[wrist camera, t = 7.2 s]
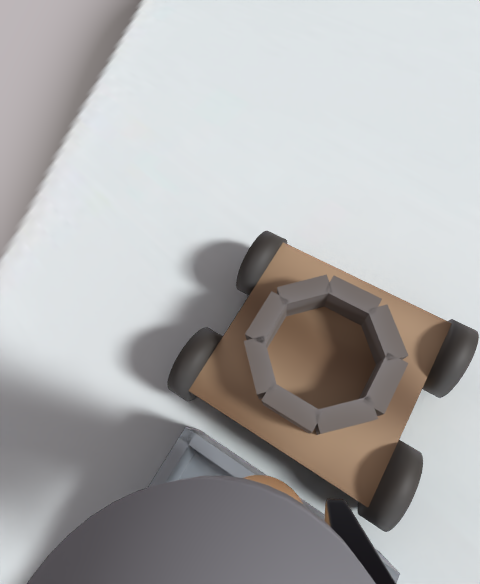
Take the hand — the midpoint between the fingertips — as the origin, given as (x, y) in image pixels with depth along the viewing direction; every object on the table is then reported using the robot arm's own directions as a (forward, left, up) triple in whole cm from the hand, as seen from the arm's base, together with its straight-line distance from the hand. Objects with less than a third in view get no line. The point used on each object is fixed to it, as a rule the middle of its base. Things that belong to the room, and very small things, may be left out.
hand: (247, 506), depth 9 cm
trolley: (+6, 0, -13) cm, 15 cm away
